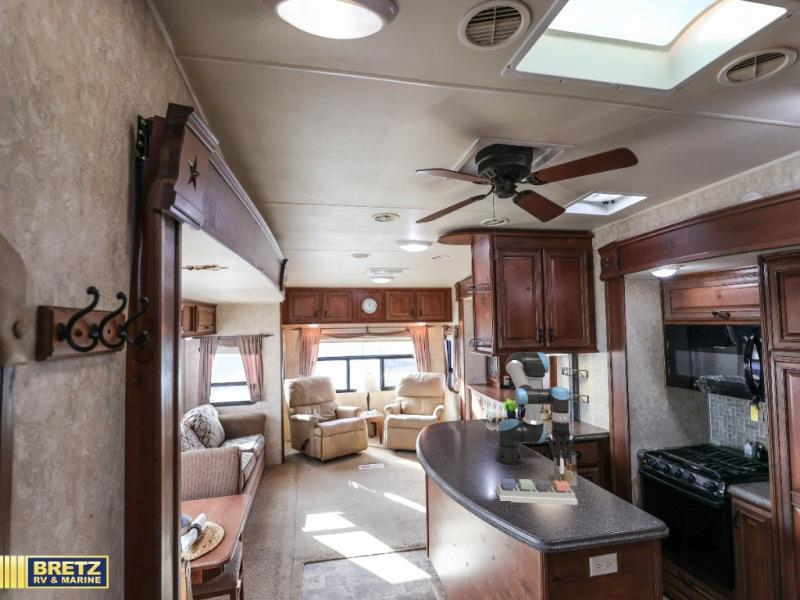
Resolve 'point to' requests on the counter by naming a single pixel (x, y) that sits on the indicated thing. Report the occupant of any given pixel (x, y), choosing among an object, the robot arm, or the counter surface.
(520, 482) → the key sage
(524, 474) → the counter surface
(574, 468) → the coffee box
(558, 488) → the key coral
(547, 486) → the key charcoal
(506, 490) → the keypad board
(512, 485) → the key slate blue
